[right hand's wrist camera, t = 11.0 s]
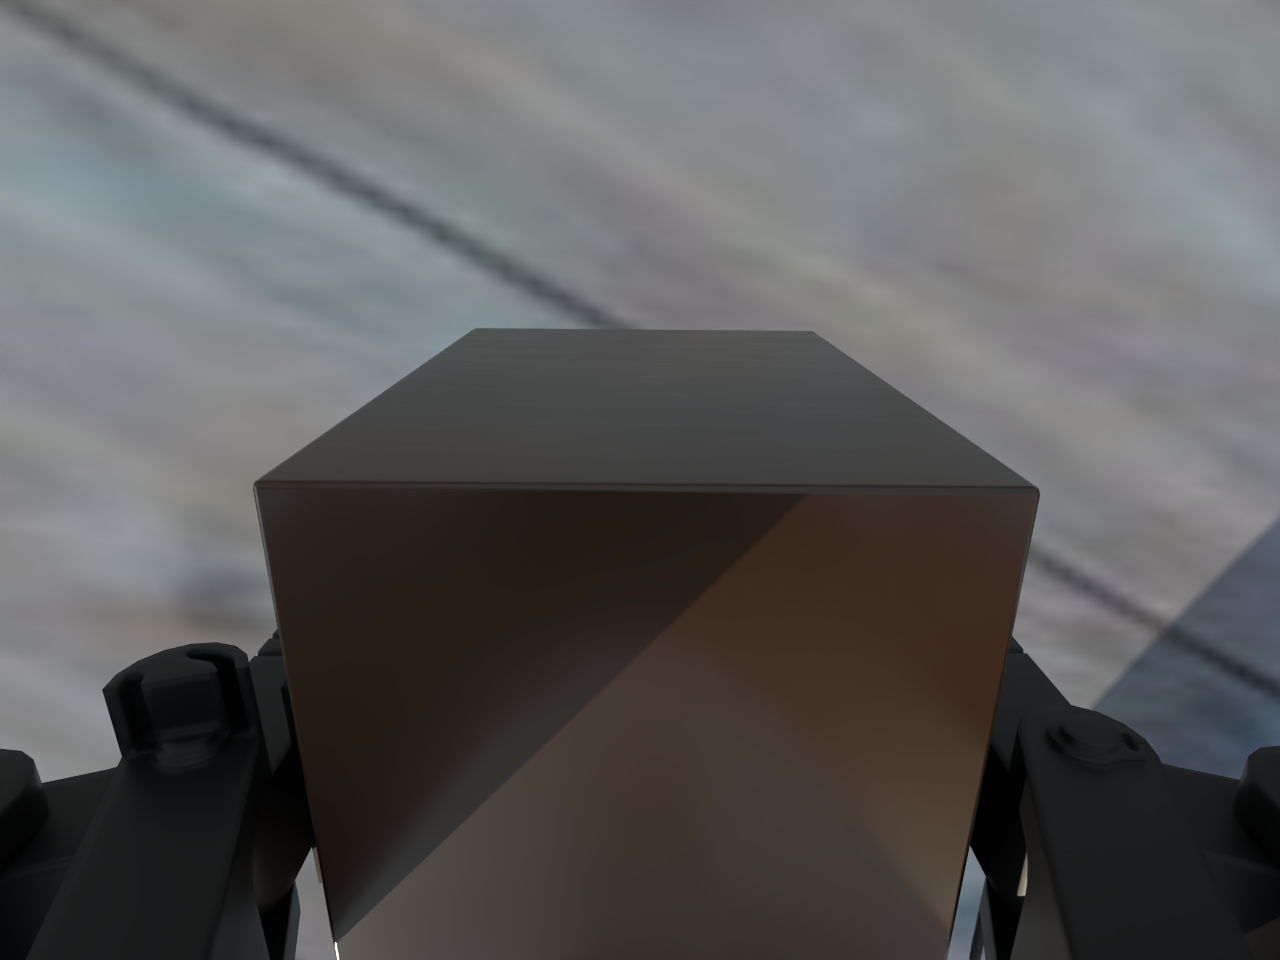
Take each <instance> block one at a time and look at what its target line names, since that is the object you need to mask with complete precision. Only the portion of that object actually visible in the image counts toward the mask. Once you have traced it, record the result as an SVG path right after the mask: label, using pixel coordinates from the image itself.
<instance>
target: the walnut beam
mask: <svg viewBox="0 0 1280 960" xmlns="http://www.w3.org/2000/svg"><path fill="white" fill-rule="evenodd" d="M253 491H254V497H255V502H256V508H257V514H258V519H259V525H260V531H261V536H262V542H263V548H264V553H265V559H266V565H267V570H268V576H269V582H270V587H271V593H272V599H273V604H274V610H275V616H276V621H277V627H278V633H279V638H280V644H281V650H282V655H283V661H284V667H285V672H286V678H287V684H288V689H289V695H290V701H291V706H292V712H293V718H294V723H295V729H296V735H297V740H298V746H299V752H300V757H301V763H302V769H303V774H304V780H305V786H306V791H307V797H308V803H309V808H310V814H311V820H312V825H313V831H314V836H315V842H316V848H317V853H318V859H319V865H320V870H321V876H322V882H323V887H324V893H325V899H326V904H327V910H328V916H329V921H330V927H331V933H332V938H333V944H334V950H335V955H336V960H947V956H948V951H949V946H950V941H951V936H952V931H953V926H954V921H955V916H956V911H957V906H958V901H959V896H960V891H961V886H962V881H963V876H964V872H965V867H966V862H967V857H968V852H969V847H970V842H971V837H972V832H973V827H974V822H975V817H976V812H977V807H978V802H979V797H980V792H981V787H982V782H983V777H984V772H985V767H986V762H987V757H988V752H989V747H990V742H991V737H992V732H993V727H994V722H995V717H996V712H997V707H998V702H999V697H1000V692H1001V687H1002V682H1003V677H1004V672H1005V667H1006V662H1007V657H1008V652H1009V647H1010V642H1011V637H1012V632H1013V627H1014V622H1015V617H1016V612H1017V607H1018V602H1019V597H1020V592H1021V587H1022V582H1023V577H1024V572H1025V567H1026V562H1027V557H1028V552H1029V547H1030V542H1031V537H1032V532H1033V527H1034V522H1035V517H1036V512H1037V507H1038V502H1039V497H1040V493H1039V489H1038V488H1037V487H1036V486H1035V485H1033V484H1032V483H1030V482H1029V481H1027V480H1026V479H1025V478H1023V477H1022V476H1020V475H1019V474H1017V473H1016V472H1014V471H1013V470H1012V469H1010V468H1009V467H1007V466H1006V465H1004V464H1003V463H1001V462H1000V461H999V460H997V459H996V458H994V457H993V456H991V455H990V454H989V453H987V452H986V451H984V450H983V449H981V448H980V447H978V446H977V445H976V444H974V443H973V442H971V441H970V440H968V439H967V438H966V437H964V436H963V435H961V434H960V433H958V432H957V431H955V430H954V429H953V428H951V427H950V426H948V425H947V424H945V423H944V422H942V421H941V420H940V419H938V418H937V417H935V416H934V415H932V414H931V413H930V412H928V411H927V410H925V409H924V408H922V407H921V406H919V405H918V404H917V403H915V402H914V401H912V400H911V399H909V398H908V397H907V396H905V395H904V394H902V393H901V392H899V391H898V390H896V389H895V388H894V387H892V386H891V385H889V384H888V383H886V382H885V381H884V380H882V379H881V378H879V377H878V376H876V375H875V374H873V373H872V372H871V371H869V370H868V369H866V368H865V367H863V366H862V365H860V364H859V363H858V362H856V361H855V360H853V359H852V358H850V357H849V356H848V355H846V354H845V353H843V352H842V351H840V350H839V349H837V348H836V347H835V346H833V345H832V344H830V343H829V342H827V341H826V340H825V339H823V338H822V337H820V336H819V335H817V334H816V333H814V332H812V331H737V330H617V329H497V328H475V329H473V330H472V331H470V332H469V333H467V334H466V335H465V336H463V337H462V338H460V339H459V340H457V341H456V342H455V343H453V344H452V345H450V346H449V347H447V348H446V349H444V350H443V351H442V352H440V353H439V354H437V355H436V356H434V357H433V358H432V359H430V360H429V361H427V362H426V363H424V364H423V365H422V366H420V367H419V368H417V369H416V370H414V371H413V372H411V373H410V374H409V375H407V376H406V377H404V378H403V379H401V380H400V381H399V382H397V383H396V384H394V385H393V386H391V387H390V388H389V389H387V390H386V391H384V392H383V393H381V394H380V395H378V396H377V397H376V398H374V399H373V400H371V401H370V402H368V403H367V404H366V405H364V406H363V407H361V408H360V409H358V410H357V411H356V412H354V413H353V414H351V415H350V416H348V417H347V418H346V419H344V420H343V421H341V422H340V423H338V424H337V425H335V426H334V427H333V428H331V429H330V430H328V431H327V432H325V433H324V434H323V435H321V436H320V437H318V438H317V439H315V440H314V441H313V442H311V443H310V444H308V445H307V446H305V447H304V448H302V449H301V450H300V451H298V452H297V453H295V454H294V455H292V456H291V457H290V458H288V459H287V460H285V461H284V462H282V463H281V464H280V465H278V466H277V467H275V468H274V469H272V470H271V471H269V472H268V473H267V474H265V475H264V476H262V477H261V478H259V479H258V480H257V481H255V483H254V487H253Z"/></svg>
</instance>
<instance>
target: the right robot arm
mask: <svg viewBox="0 0 1280 960" xmlns="http://www.w3.org/2000/svg"><path fill="white" fill-rule="evenodd" d="M102 691H103V694H104V697H105V701H106V704H107V707H108V711H109V714H110V718H111V721H112V724H113V728H114V731H115V734H116V738H117V741H118V745H119V748H120V751H121V755H122V758H121V760H120V762H119V764H118V767H115V768H111V769H107V770H103V771H98V772H93V773H88V774H84V775H79V776H74V777H69V778H64V779H60V780H55V781H50V782H45V783H41V780H40V777H39V774H38V771H37V768H36V765H35V763H34V760H33V759H32V758H31V757H29V756H28V755H26V754H25V753H24V752H22V751H17V750H7V749H0V960H295V952H296V944H297V935H298V927H299V919H300V905H299V898H298V892H297V887H296V883H295V879H296V877H297V875H298V873H299V871H300V869H301V867H302V865H303V863H304V861H305V859H306V857H307V855H308V853H309V851H310V849H311V847H312V850H313V855H314V860H315V865H316V870H317V875H318V880H319V883H323V882H322V876H321V870H320V865H319V859H318V853H317V848H316V842H315V836H314V831H313V825H312V820H311V814H310V808H309V803H308V797H307V791H306V786H305V780H304V774H303V769H302V763H301V757H300V752H299V746H298V740H297V735H296V729H295V723H294V718H293V712H292V706H291V701H290V695H289V689H288V684H287V678H286V672H285V667H284V661H283V655H282V650H281V644H280V638H279V633H278V629H277V630H276V631H275V632H274V634H273V638H272V639H268V641H267V642H266V643H265V644H264V645H263V647H262V648H261V649H260V650H259V651H258V656H254V657H253V658H252V660H251V661H250V662H249V661H248V657H247V654H246V653H245V652H243V651H242V650H241V649H239V648H238V647H237V646H234V645H228V644H223V643H218V642H214V643H197V644H189V645H185V646H180V647H176V648H172V649H167V650H164V651H161V652H159V653H156V654H154V655H151V656H149V657H146V658H144V659H141V660H139V661H137V662H135V663H134V664H132V665H131V666H129V667H127V668H126V669H124V670H123V671H121V672H119V673H118V674H116V675H115V676H114V677H113V679H112V680H111V681H110V682H109V683H108V684H107V685H106V686H105V687H104V688H103V689H102ZM970 846H971V848H972V850H973V852H974V854H975V856H976V858H977V860H978V862H979V864H980V866H981V868H982V870H983V872H984V874H985V875H986V878H985V883H984V887H983V892H982V897H981V901H980V906H979V911H978V915H977V920H976V925H975V930H974V934H973V939H972V944H971V951H970V958H969V960H980V959H981V954H982V950H983V946H984V950H985V958H986V960H1280V746H1272V747H1262V748H1259V749H1258V750H1257V751H1255V752H1254V753H1252V754H1251V755H1249V756H1248V759H1247V762H1246V765H1245V768H1244V771H1243V773H1242V776H1241V779H1240V780H1237V779H1232V778H1228V777H1223V776H1218V775H1213V774H1208V773H1203V772H1199V771H1194V770H1189V769H1184V768H1179V767H1175V766H1171V765H1167V764H1164V763H1161V761H1160V759H1159V757H1158V755H1157V754H1156V753H1155V751H1154V750H1153V749H1152V747H1151V746H1150V745H1149V744H1148V742H1147V741H1146V740H1145V739H1144V738H1143V737H1141V736H1140V735H1139V734H1137V733H1136V732H1134V731H1133V730H1132V729H1130V728H1129V727H1128V726H1126V725H1125V724H1123V723H1121V722H1119V721H1117V720H1114V719H1112V718H1110V717H1108V716H1106V715H1104V714H1101V713H1099V712H1096V711H1092V710H1088V709H1084V708H1081V707H1077V706H1073V705H1071V704H1070V703H1069V702H1068V701H1067V700H1066V699H1065V697H1064V696H1063V695H1062V694H1061V693H1060V692H1059V690H1058V689H1057V688H1056V687H1055V686H1054V685H1053V683H1052V682H1051V681H1050V680H1049V679H1048V678H1047V676H1046V675H1045V674H1044V673H1043V672H1042V671H1041V669H1040V668H1039V667H1038V666H1037V665H1036V664H1035V662H1034V661H1033V660H1032V659H1031V658H1030V657H1029V655H1028V654H1024V653H1023V648H1022V647H1021V646H1020V645H1019V644H1018V643H1017V641H1016V640H1015V639H1014V638H1013V637H1011V642H1010V647H1009V652H1008V657H1007V662H1006V667H1005V672H1004V677H1003V682H1002V687H1001V692H1000V697H999V702H998V707H997V712H996V717H995V722H994V727H993V732H992V737H991V742H990V747H989V752H988V757H987V762H986V767H985V772H984V777H983V782H982V787H981V792H980V797H979V802H978V807H977V812H976V817H975V822H974V827H973V832H972V837H971V842H970Z"/></svg>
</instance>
